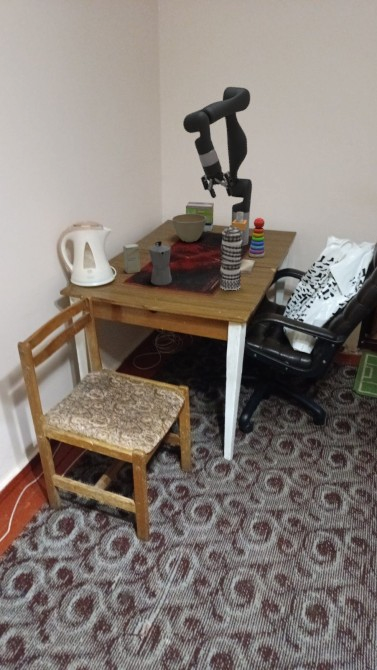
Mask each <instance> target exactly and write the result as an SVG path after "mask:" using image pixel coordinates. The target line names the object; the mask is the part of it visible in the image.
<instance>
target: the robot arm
mask: <svg viewBox="0 0 377 670" xmlns="http://www.w3.org/2000/svg"><path fill="white" fill-rule="evenodd" d="M250 103H251V92H250V91H249V89H247V88H245V87H237V86H228V87H226V88H225V89H224V91H223V94H222V100H218V101H215V102H212V103H210V104H207V105H206V106H204V107H202V108H201V109H199V110H197V111H193V112H191V113H189V114H187V115H186V116H185V117H184V119H183V121H182V122H183V129H184V130H185V132H186V133H189V134H195V133H199V136H198V137H197V138H196V139H195V140H194V146H195V149H196V151H197V154H198V158H199V161H200V165H201V167H202V170H203V172H204V175H202V176H201V177H200V179H201V183H202V186H203V189H204V191H209V194H210V196H211V198H212V199H215V198H216V197H217V194H216V192H215V188H214V186H216V185H218V186H219V185H220V186H222V187H224V188H225V190H226V193H227V196H228V197H232V198H242V200H241V202H237V203H235V204H233V205H232V206H231V224H230V225H229V227H232V223H233V221H234V220H236V216H237V212H243V220H247V227H246V229H245V230H243V235H242V242H243V245H242V246H243V247H244V246H247V245H248V244H249V234H250V232H249V231H250V215H251V214H250V213H251V204H252V203H251V202H252V191H253V183H252V179H249V178H239V177H238V171H239V169H240V167H241V165H242V163H244V160H245V159H246V156H247V155H248V139H247V136H246V133H245V131H244V130H243V128H242V125H241V124H240V123H239V121H238V117H237V113H240V112H243V111H245V110H247V109H248V107H249V106H250ZM223 118H224V120H225V126H226V127H225V128H226V142H227V143H226V144H227V156H228V169H229V170H228V171H226V172H223V171H222V170H223V169H222V168H223V167H222V165H221V162H220V159H219V157H218V153H217V151H216V150H215V149H216V148H215V146H214V143H213V140H212V136H211V134H212V133H211V125H213V124H215V123H216V122H217V121H219V120H221V119H223Z"/></svg>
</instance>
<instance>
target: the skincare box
mask: <svg viewBox="0 0 377 670" xmlns="http://www.w3.org/2000/svg"><path fill="white" fill-rule="evenodd" d="M122 248H123V262H124V271H125V272H126V273H127V274H133V273H134V274H135V273H139V272H141V263H140V262H141V260H140V257H141V256H140V246H139V245H138V244H137V243H132V244H124V245H122Z"/></svg>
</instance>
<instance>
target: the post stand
mask: <svg viewBox="0 0 377 670" xmlns="http://www.w3.org/2000/svg"><path fill="white" fill-rule="evenodd" d="M236 223H243V212H237V216H236ZM240 231H242V235H243V230H240ZM241 239H242V238H241ZM241 250H242V251H243V248H242V249H241ZM241 254H242V255H243V252H242V253H241ZM240 258H241V259H242V257H240ZM255 264H256V260H254V259H253V260H252V259H242V261H241V262H240V267H241V270H240V271H241V274H245V275H247V274H248V275H251V274H252V271H253V269H254V267H255ZM221 267H222V265H221V266H220V268H219V272H221Z"/></svg>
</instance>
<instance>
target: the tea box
mask: <svg viewBox="0 0 377 670" xmlns="http://www.w3.org/2000/svg"><path fill="white" fill-rule="evenodd" d="M185 214H199V215H203V216H205V217H206V223H205V227H204V230H203V232H207V231H210V232H209V233H211V232H212V229H213V228H214V202H201V201H199V202H198V201H188V203H187V204H186V205H185Z"/></svg>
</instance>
